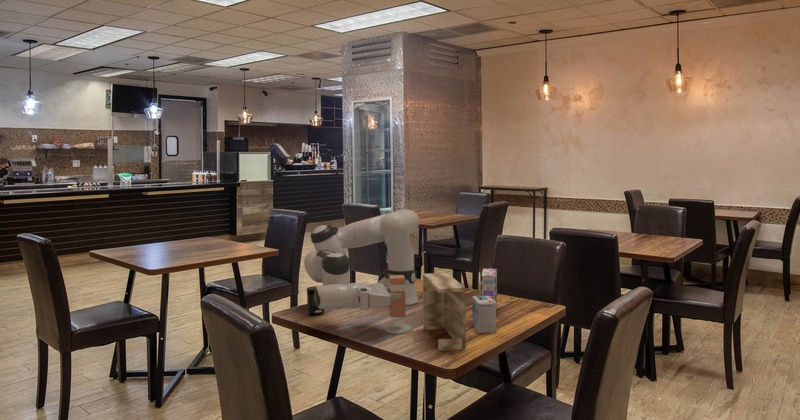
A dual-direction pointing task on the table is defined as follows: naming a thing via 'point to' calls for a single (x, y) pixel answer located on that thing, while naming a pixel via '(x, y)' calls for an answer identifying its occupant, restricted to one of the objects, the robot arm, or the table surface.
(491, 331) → the light bulb box
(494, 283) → the candy box
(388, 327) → the disc
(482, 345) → the table surface
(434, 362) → the table surface
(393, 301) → the carton
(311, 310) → the supplement container
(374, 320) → the table surface
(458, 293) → the shelf
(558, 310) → the table surface
